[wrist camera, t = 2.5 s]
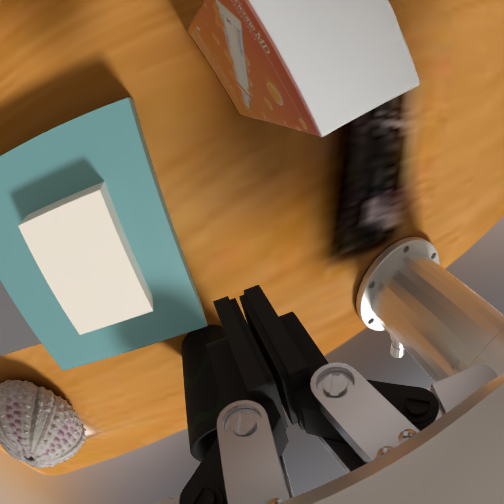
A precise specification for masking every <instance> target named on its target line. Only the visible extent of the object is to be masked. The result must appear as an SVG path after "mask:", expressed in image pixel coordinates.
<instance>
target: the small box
mask: <svg viewBox="0 0 504 504" xmlns="http://www.w3.org/2000/svg"><path fill="white" fill-rule="evenodd" d="M187 32H188V33H189V35H190V36H191V37H192V39H193V40H194V41H195V43H196V44H197V46H198V47H199V49H200V50H201V52H202V53H203V55H204V56H205V58H206V59H207V61H208V63H209V64H210V66H211V67H212V69H213V70H214V72H215V73H216V75H217V77H218V78H219V80H220V82H221V83H222V85H223V87H224V88H225V90H226V92H227V93H228V95H229V97H230V98H231V100H232V102H233V104H234V105H235V107H236V109H237V110H238V112H239V114H240V115H243V116H247V117H251V118H255V119H259V120H263V121H267V122H271V123H275V124H278V125H282V126H286V127H290V128H293V129H296V130H300V131H303V132H307V133H310V134H314V135H317V136H320V137H323V136H325V135H327V134H329V133H331V132H332V131H334V130H336V129H337V128H339V127H341V126H343V125H345V124H346V123H348V122H350V121H352V120H354V119H355V118H357V117H359V116H361V115H363V114H365V113H367V112H368V111H370V110H372V109H374V108H376V107H378V106H380V105H381V104H383V103H385V102H387V101H389V100H391V99H393V98H395V97H397V96H399V95H401V94H403V93H405V92H407V91H409V90H411V89H413V88H415V87H417V86H418V85H419V84H420V81H419V78H418V75H417V72H416V69H415V66H414V63H413V60H412V57H411V55H410V52H409V49H408V47H407V44H406V42H405V39H404V37H403V34H402V32H401V29H400V27H399V24H398V21H397V19H396V16H395V14H394V11H393V9H392V7H391V5H390V3H389V1H388V0H205V1H204V2H203V4H202V6H201V7H200V9H199V10H198V12H197V14H196V15H195V17H194V19H193V21H192V23H191V24H190V26H189V28H188V30H187Z"/></svg>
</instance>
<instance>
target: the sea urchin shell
mask: <svg viewBox="0 0 504 504" xmlns="http://www.w3.org/2000/svg"><path fill="white" fill-rule="evenodd" d="M85 431H86V429H85V428H83V424H82V421H81V420H80V419H79V415H78V413H76V412H75V411H74V410H73V407H72V406H71V405H69V404H68V403H67V400H63V399H62V398H61V396H56V395H55V394H53V392H52V390H46V388H44V387H37V386H36V385H34V384H33V382H27V381H26V380H25V381H20V380H15V379H14V380H13V381H12V380H6V381H5V382H2V383H0V444H1V445H2V447H3V448H4V449H5V450H6V451H7V452H8V453H9V454H10V456H12V457H13V458H15V459H17V460H19V461H22V462H25V463H28V464H29V465H31V466H32V467H37V468H45V467H49V466H50V467H53V465H56V464H58V463H61V462H63V461H64V462H66V460H67V459H69V458H72V455H74V454H77V452H78V450H79V449H80V447H82V444H84V443H85V441H84V439H85V438H86V436H85V434H84V433H85Z"/></svg>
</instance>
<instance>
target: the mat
mask: <svg viewBox="0 0 504 504" xmlns="http://www.w3.org/2000/svg"><path fill="white" fill-rule="evenodd" d="M40 343H41V342H40V340H39V339H38V337H37V336H36V335H35V333H34V332H33V330H32V329H31V327H30V326H29V325H28V323H27V322H26V320H25V319H24V317H23V316H22V314H21V313H20V311H19V310H18V308H17V307H16V305H15V303H14V302H13V300H12V299H11V297H10V295H9V294H8V292H7V290H6V289H5V287H4V285H3V284H2V282H1V280H0V356H2V355H5V354H8V353H11V352H14V351H18V350H21V349H24V348H27V347H30V346H34V345H37V344H40Z"/></svg>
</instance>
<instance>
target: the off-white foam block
mask: <svg viewBox="0 0 504 504" xmlns="http://www.w3.org/2000/svg"><path fill="white" fill-rule="evenodd" d="M18 227H19V229H20V231H21V233H22V235H23V237H24V239H25V241H26V243H27V245H28V247H29V249H30V251H31V253H32V255H33V257H34V259H35V261H36V263H37V265H38V267H39V268H40V270H41V272H42V274H43V276H44V278H45V279H46V281H47V283H48V285H49V286H50V288H51V290H52V292H53V293H54V295H55V297H56V298H57V300H58V302H59V303H60V305H61V307H62V308H63V310H64V311H65V313H66V315H67V316H68V318H69V319H70V321H71V322H72V324H73V325H74V327H75V328H76V330H77V331H78V333H79V334H80V335H82V334H85V333H88V332H91V331H94V330H97V329H100V328H103V327H106V326H109V325H112V324H115V323H119V322H122V321H125V320H128V319H131V318H134V317H137V316H140V315H143V314H146V313H149V312H152V311H153V299H152V293H151V291H150V289H149V287H148V285H147V283H146V280H145V278H144V276H143V274H142V272H141V269H140V267H139V265H138V263H137V261H136V258H135V256H134V254H133V251H132V249H131V247H130V244H129V242H128V240H127V237H126V235H125V232H124V230H123V228H122V225H121V223H120V220H119V218H118V215H117V213H116V210H115V208H114V205H113V202H112V200H111V197H110V195H109V192H108V189H107V187H106V184H105V181H104V182H101V183H99V184H96V185H94V186H91V187H89V188H86V189H84V190H82V191H79V192H77V193H75V194H72V195H70V196H68V197H65V198H63V199H61V200H58V201H56V202H54V203H52V204H50V205H47V206H45V207H43V208H41V209H39V210H37V211H35V212H32V213H30V214H28V215H27V216H26V217H25V219H24V220H23V221H22V222H21V223H20V224H19V225H18Z"/></svg>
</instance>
